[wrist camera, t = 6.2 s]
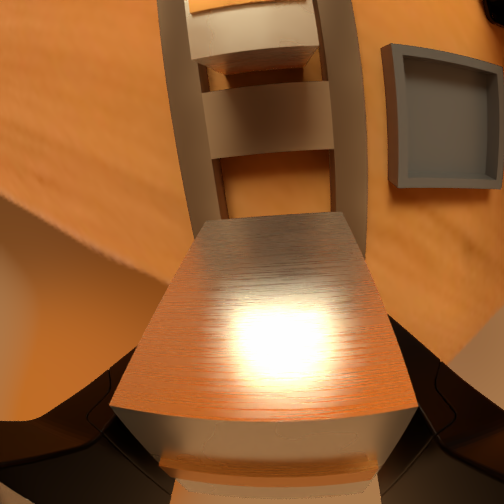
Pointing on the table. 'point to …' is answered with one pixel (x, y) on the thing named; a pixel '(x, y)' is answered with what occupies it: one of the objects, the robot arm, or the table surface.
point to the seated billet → (251, 34)
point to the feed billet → (269, 364)
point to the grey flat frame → (270, 116)
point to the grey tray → (443, 119)
